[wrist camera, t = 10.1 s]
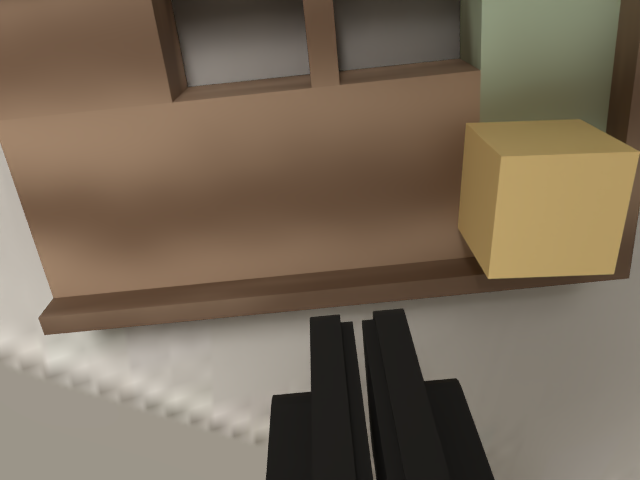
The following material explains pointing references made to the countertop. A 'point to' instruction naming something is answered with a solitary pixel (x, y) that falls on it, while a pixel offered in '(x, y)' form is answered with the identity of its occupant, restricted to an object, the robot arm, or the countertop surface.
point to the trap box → (280, 157)
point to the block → (544, 197)
